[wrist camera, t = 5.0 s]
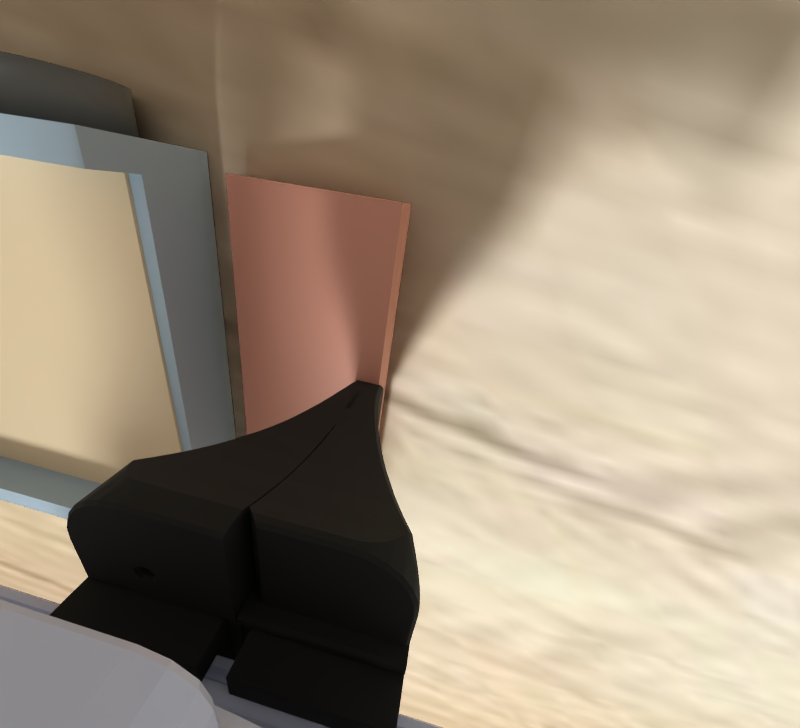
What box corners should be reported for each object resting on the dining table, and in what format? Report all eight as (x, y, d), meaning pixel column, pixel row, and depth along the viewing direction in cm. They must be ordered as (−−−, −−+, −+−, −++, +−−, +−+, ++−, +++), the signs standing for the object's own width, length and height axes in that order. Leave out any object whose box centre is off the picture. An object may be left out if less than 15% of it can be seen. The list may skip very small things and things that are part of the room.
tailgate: (262, 478, 16) (366, 520, 15) (251, 490, 16) (358, 535, 14) (245, 176, 10) (411, 203, 9) (225, 173, 10) (402, 202, 8)
